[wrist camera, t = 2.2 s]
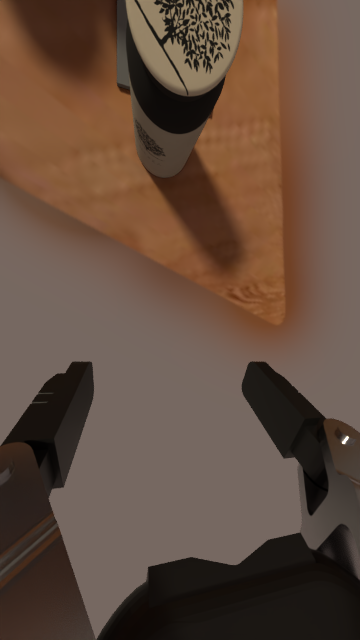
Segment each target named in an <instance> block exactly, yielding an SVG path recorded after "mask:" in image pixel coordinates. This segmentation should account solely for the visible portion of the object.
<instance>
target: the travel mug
mask: <svg viewBox="0 0 360 640" xmlns="http://www.w3.org/2000/svg"><path fill="white" fill-rule="evenodd" d="M126 9H127V16H128V20H127V28H126V51H127V61H128V71H129V82H130V92H131V102H132V112H133V122H134V132H135V143H136V149H137V153H138V156H139V158H140V160H141V162H142V164H143V165H144V166H145V168H146V169H147V170H148V171H149V172H151V173H152V174H154V175H156V176H158V177H162V178H167V177H172V176H174V175H176V174H177V173H178V172H180V171H181V169H182V168H183V167H184V165H185V163H186V161H187V159H188V157H189V155H190V153H191V151H192V149H193V147H194V145H195V143H196V141H197V139H198V137H199V136H200V134H201V132H202V130H203V128H204V126H205V124H206V122H207V120H208V118H209V116H210V114H211V112H212V110H213V108H214V106H215V104H216V102H217V100H218V98H219V96H220V94H221V91H222V88H223V85H224V81H225V76H226V73H227V72H228V70H229V68H230V67H231V65H232V62H233V60H234V58H235V55H236V52H237V49H238V46H239V42H240V37H241V31H242V23H243V0H126Z"/></svg>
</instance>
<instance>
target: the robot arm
mask: <svg viewBox="0 0 360 640" xmlns="http://www.w3.org/2000/svg"><path fill="white" fill-rule="evenodd" d="M242 392H243V395H244V397H245V398H246V400H247V401H248V403H249V405H250V406H251V408H252V409H253V411H254V412H255V414H256V416H257V417H258V419H259V420H260V422H261V423H262V425H263V427H264V428H265V430H266V431H267V433H268V434H269V436H270V437H271V439H272V441H273V442H274V444H275V445H276V447H277V449H278V450H279V452H280V453H281V455H282V456H283V458H292V457H295V458H296V459H297V460H298V462H299V465H298V480H299V491H300V502H301V513H302V525H301V530H300V533H296V534H292V535H288V536H283V537H279V538H274V539H270V540H268V541H266V542H265V543H264V544H263V545H262V546H261V547H259V548H258V549H257V550H255V551H254V552H253V553H252V554H251V555H250V556H248V557H247V558H246V559H245V560H244V561H242V562H241V563H240V564H238V565H228V564H223V563H218V562H213V561H208V560H203V559H198V558H193V557H190V558H186V559H181V560H177V561H173V562H168V563H164V564H159V565H155V566H150V567H148V573H147V580H146V582H145V583H143V584H142V585H141V586H139V587H138V588H136V589H135V590H134V591H133V592H132V593H131V594H130V595H129V596H128V597H127V598H126V599H125V600H124V601H123V602H122V604H121V605H120V606H119V607H118V608H117V610H116V611H115V612H114V614H113V615H112V616H111V618H110V619H109V621H108V622H107V623H106V625H105V626H104V628H103V629H102V631H101V633H100V635H99V636H98V638H97V640H360V433H359V432H358V431H356V430H355V429H354V428H353V427H351V426H349V425H348V424H346V423H344V422H342V421H339V420H336V419H326V418H325V417H324V416H323V415H322V414H321V413H320V412H319V411H318V410H317V409H316V408H315V407H314V406H313V405H312V404H311V403H310V402H309V401H308V400H307V399H306V398H305V397H304V396H303V395H302V394H301V393H298V390H297V389H296V388H295V387H294V386H292V385H291V384H290V383H289V382H288V381H287V380H286V379H285V378H284V377H283V376H281V375H280V374H278V373H276V372H275V371H274V370H273V369H272V368H271V367H270V366H269V365H268V364H267V363H266V362H250V363H249V364H248V367H247V370H246V373H245V376H244V379H243V382H242ZM93 394H94V382H93V367H92V362H72V363H71V365H70V366H69V368H68V369H67V371H66V373H64V374H62V373H61V374H56V375H55V376H53V377H52V378H51V379H49V380H48V381H47V382H46V383H45V384H44V386H43V387H42V388H41V390H40V391H39V393H38V395H36V397H35V398H34V400H33V401H32V404H30V405H29V407H28V408H27V410H26V411H25V412H24V414H23V415H22V417H21V418H20V419H19V421H18V422H17V424H16V425H15V427H14V428H13V429H12V431H11V432H10V434H9V435H8V436H7V438H6V439H5V441H4V442H3V443H2V445H1V446H0V640H96V639H95V636H94V633H93V630H92V627H91V624H90V621H89V618H88V615H87V611H86V609H85V605H84V602H83V599H82V596H81V593H80V590H79V587H78V584H77V581H76V578H75V575H74V572H73V569H72V566H71V563H70V560H69V556H68V554H67V550H66V547H65V544H64V541H63V538H62V535H61V532H60V529H59V527H58V524H57V521H56V519H55V517H54V514H53V511H52V508H51V505H50V502H49V496H50V493H51V490H52V489H54V488H61V487H64V485H65V481H66V479H67V475H68V473H69V469H70V467H71V464H72V460H73V458H74V455H75V452H76V449H77V446H78V443H79V440H80V437H81V433H82V430H83V427H84V424H85V422H86V419H87V416H88V413H89V410H90V407H91V404H92V400H93Z"/></svg>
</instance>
